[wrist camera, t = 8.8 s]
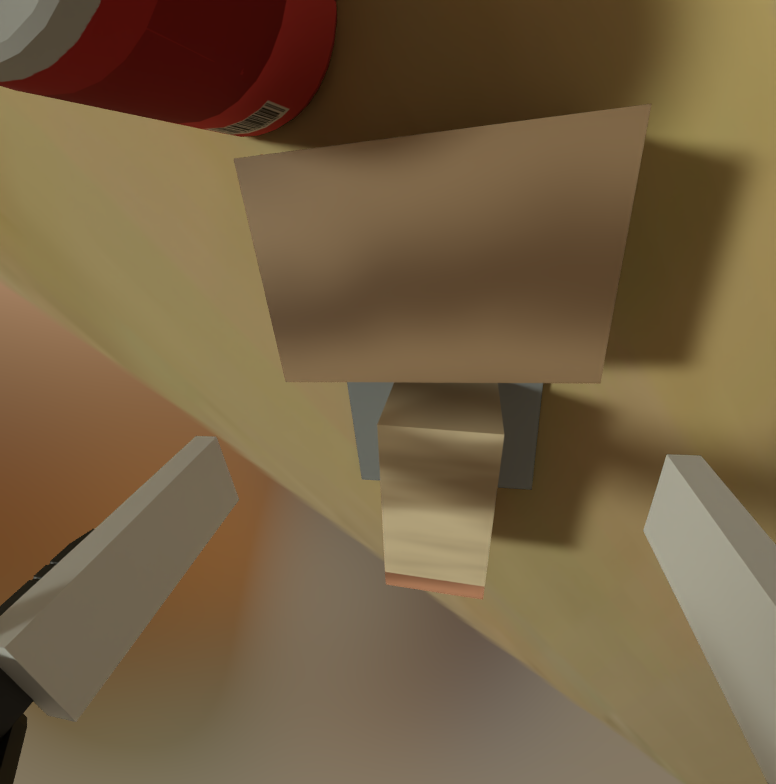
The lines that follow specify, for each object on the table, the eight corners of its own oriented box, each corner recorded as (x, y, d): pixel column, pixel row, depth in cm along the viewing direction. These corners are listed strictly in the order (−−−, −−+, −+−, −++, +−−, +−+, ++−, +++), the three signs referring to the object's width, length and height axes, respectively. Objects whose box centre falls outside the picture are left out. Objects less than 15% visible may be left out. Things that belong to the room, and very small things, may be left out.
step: (295, 166, 17) (233, 158, 12) (596, 129, 14) (651, 103, 10) (325, 340, 20) (285, 381, 16) (569, 335, 18) (600, 383, 13)
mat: (346, 357, 21) (344, 360, 20) (544, 356, 18) (545, 359, 18) (363, 475, 24) (361, 479, 24) (530, 484, 22) (531, 489, 22)
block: (377, 424, 16) (385, 584, 20) (504, 434, 15) (482, 599, 19) (397, 373, 20) (401, 514, 25) (497, 378, 19) (480, 523, 24)
